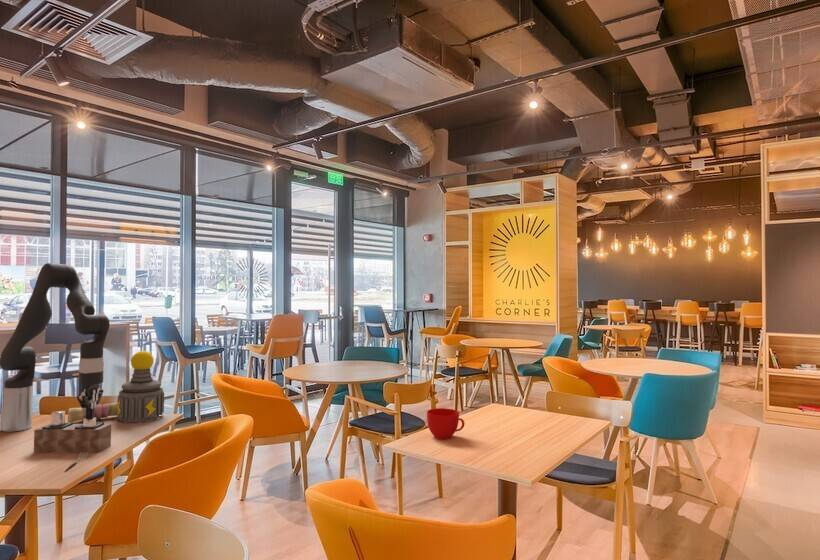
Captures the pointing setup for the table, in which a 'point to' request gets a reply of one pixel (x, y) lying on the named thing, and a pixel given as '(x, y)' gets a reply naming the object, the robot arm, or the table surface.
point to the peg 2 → (89, 422)
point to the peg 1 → (58, 419)
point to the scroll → (99, 412)
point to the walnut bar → (72, 438)
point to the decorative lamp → (140, 393)
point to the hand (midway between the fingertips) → (89, 418)
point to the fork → (76, 462)
